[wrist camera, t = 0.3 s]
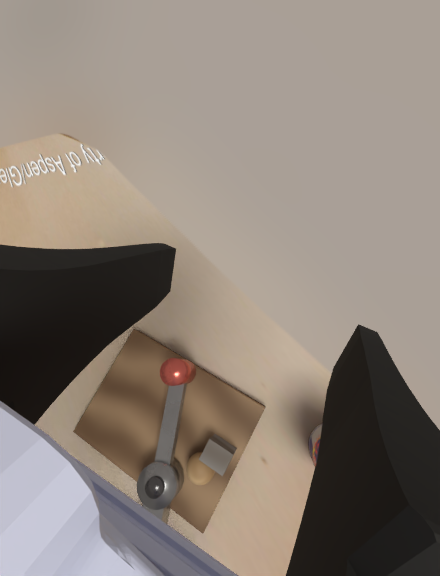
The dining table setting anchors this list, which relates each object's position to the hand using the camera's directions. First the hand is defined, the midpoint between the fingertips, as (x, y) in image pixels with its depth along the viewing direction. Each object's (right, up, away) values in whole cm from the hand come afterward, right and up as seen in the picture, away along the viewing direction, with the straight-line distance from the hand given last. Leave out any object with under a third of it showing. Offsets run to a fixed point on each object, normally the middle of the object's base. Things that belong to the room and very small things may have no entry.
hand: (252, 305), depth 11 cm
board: (-8, -16, +28) cm, 33 cm away
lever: (-7, -17, +25) cm, 31 cm away
